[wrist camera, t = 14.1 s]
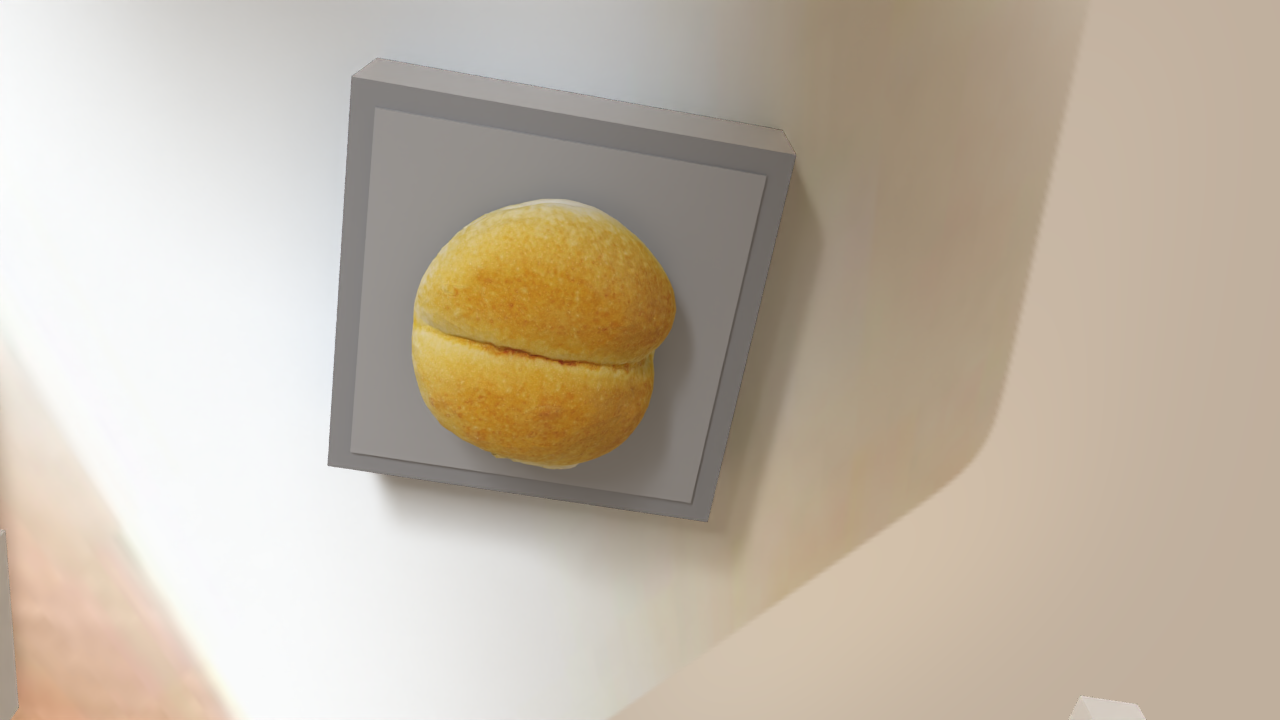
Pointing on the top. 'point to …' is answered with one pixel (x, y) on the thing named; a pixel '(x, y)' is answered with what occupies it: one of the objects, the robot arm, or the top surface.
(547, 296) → the bread roll
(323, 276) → the top surface
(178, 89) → the top surface
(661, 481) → the grey square block
